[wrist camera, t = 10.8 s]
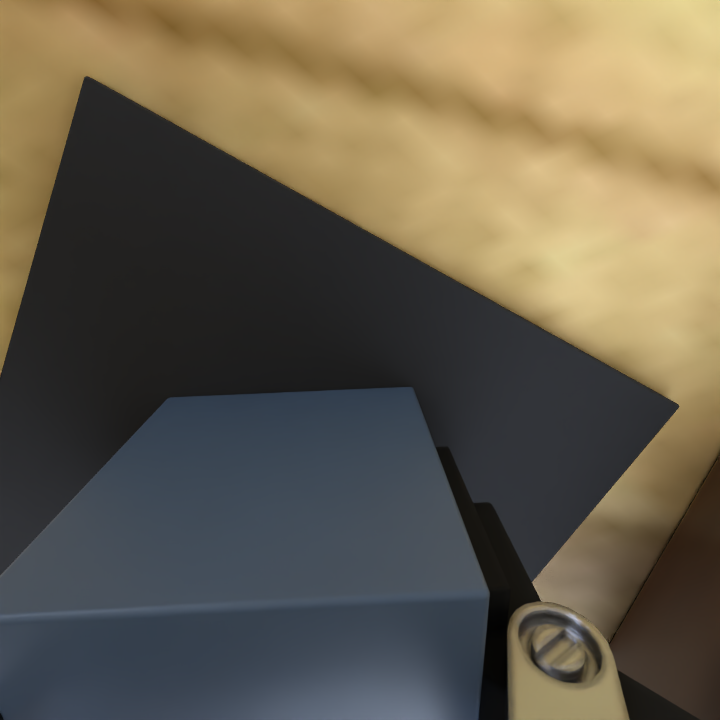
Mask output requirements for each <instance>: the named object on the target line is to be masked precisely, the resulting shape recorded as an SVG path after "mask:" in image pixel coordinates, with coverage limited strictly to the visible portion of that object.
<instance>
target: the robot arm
mask: <svg viewBox="0 0 720 720" xmlns="http://www.w3.org/2000/svg"><path fill="white" fill-rule="evenodd" d="M435 448H436V450H437V453H438V456H439V458H440V461H441V464H442V466H443V469H444V472H445V474H446V477H447V480H448V482H449V485H450V488H451V490H452V493H453V496H454V498H455V501H456V504H457V506H458V509H459V512H460V514H461V517H462V520H463V523H464V525H465V528H466V531H467V533H468V536H469V539H470V541H471V544H472V547H473V549H474V552H475V555H476V557H477V560H478V563H479V565H480V568H481V571H482V573H483V576H484V579H485V581H486V584H487V587H488V589H489V592H490V597H489V608H488V619H487V630H486V641H485V653H484V664H483V675H482V686H481V697H480V708H479V719H478V720H700V719H698V718H697V717H695V716H693V715H692V714H690V713H688V712H687V711H685V710H683V709H682V708H680V707H678V706H677V705H675V704H673V703H672V702H670V701H668V700H667V699H665V698H663V697H662V696H660V695H659V694H657V693H655V692H654V691H652V690H650V689H649V688H647V687H645V686H644V685H642V684H640V683H639V682H637V681H635V680H634V679H632V678H630V677H629V676H627V675H625V674H624V673H622V672H620V671H619V670H617V668H616V664H615V660H614V656H613V654H612V652H611V649H610V647H609V644H608V642H607V641H606V639H605V638H604V637H603V635H602V634H601V633H600V631H599V630H598V629H597V628H596V627H595V626H594V625H593V624H592V623H591V622H589V621H588V620H587V619H586V618H585V617H584V616H582V615H580V614H578V613H577V612H575V611H573V610H571V609H570V608H568V607H565V606H562V605H558V604H555V603H551V602H541V600H540V598H539V596H538V594H537V592H536V590H535V588H534V586H533V584H532V582H531V580H530V578H529V576H528V574H527V572H526V570H525V568H524V566H523V564H522V562H521V560H520V558H519V556H518V554H517V552H516V550H515V548H514V546H513V544H512V542H511V540H510V538H509V536H508V534H507V532H506V530H505V528H504V526H503V524H502V522H501V520H500V518H499V516H498V514H497V512H496V510H495V509H494V507H493V505H492V504H491V503H489V502H482V503H473V501H472V499H471V497H470V495H469V492H468V490H467V488H466V485H465V483H464V481H463V479H462V476H461V474H460V472H459V469H458V467H457V465H456V463H455V460H454V458H453V456H452V453H451V451H450V449H449V447H448V446H443V447H435ZM0 720H4V719H3V717H2V715H1V713H0Z"/></svg>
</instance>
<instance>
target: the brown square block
mask: <svg viewBox="0 0 720 720" xmlns="http://www.w3.org/2000/svg"><path fill="white" fill-rule="evenodd" d="M609 647H610V649H611V652H612V654H613V656H614V660H615V664H616V668H617V670H619V671H620V672H622V673H624V674H625V675H627V676H629V677H630V678H632V679H634V680H635V681H637V682H639V683H640V684H642V685H644V686H645V687H647V688H649V689H650V690H652V691H654V692H655V693H657V694H659V695H660V696H662V697H663V698H665V699H667V700H668V701H670V702H672V703H673V704H675V705H677V706H678V707H680V708H682V709H683V710H685V711H687V712H688V713H690V714H692V715H693V716H695V717H697V718H698V719H700V720H720V455H719V457H718V459H717V460H716V462H715V464H714V466H713V467H712V469H711V471H710V472H709V474H708V476H707V478H706V479H705V481H704V483H703V485H702V486H701V488H700V490H699V491H698V493H697V495H696V497H695V498H694V500H693V502H692V503H691V505H690V507H689V509H688V510H687V512H686V514H685V515H684V517H683V519H682V521H681V522H680V524H679V526H678V528H677V529H676V531H675V533H674V534H673V536H672V538H671V540H670V541H669V543H668V545H667V546H666V548H665V550H664V552H663V553H662V555H661V557H660V558H659V560H658V562H657V564H656V565H655V567H654V569H653V571H652V572H651V574H650V576H649V577H648V579H647V581H646V583H645V584H644V586H643V588H642V589H641V591H640V593H639V595H638V596H637V598H636V600H635V601H634V603H633V605H632V607H631V608H630V610H629V612H628V614H627V615H626V617H625V619H624V620H623V622H622V624H621V626H620V627H619V629H618V631H617V632H616V634H615V636H614V638H613V639H612V641H611V643H610V644H609Z"/></svg>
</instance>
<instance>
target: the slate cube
mask: <svg viewBox="0 0 720 720" xmlns="http://www.w3.org/2000/svg"><path fill="white" fill-rule="evenodd" d="M489 597H490V592H489V589H488V587H487V584H486V581H485V579H484V576H483V573H482V571H481V568H480V565H479V563H478V560H477V557H476V555H475V552H474V549H473V547H472V544H471V541H470V539H469V536H468V533H467V531H466V528H465V525H464V523H463V520H462V517H461V514H460V512H459V509H458V506H457V504H456V501H455V498H454V496H453V493H452V490H451V488H450V485H449V482H448V480H447V477H446V474H445V472H444V469H443V466H442V464H441V461H440V458H439V456H438V453H437V450H436V448H435V445H434V442H433V440H432V437H431V434H430V432H429V429H428V426H427V424H426V421H425V418H424V416H423V413H422V410H421V408H420V405H419V402H418V400H417V397H416V394H415V392H414V389H413V388H412V387H395V388H372V389H349V390H327V391H304V392H282V393H259V394H237V395H214V396H192V397H170V398H168V399H167V400H166V401H165V402H164V403H163V404H162V405H161V406H160V407H159V408H158V409H157V410H156V411H155V412H154V413H153V415H152V416H151V417H150V418H149V419H148V420H147V421H146V422H145V423H144V424H143V425H142V426H141V427H140V428H139V429H138V430H137V431H136V432H135V434H134V435H133V436H132V437H131V438H130V439H129V440H128V441H127V442H126V443H125V444H124V445H123V446H122V447H121V448H120V449H119V450H118V452H117V453H116V454H115V455H114V456H113V457H112V458H111V459H110V460H109V461H108V462H107V463H106V464H105V465H104V466H103V467H102V468H101V470H100V471H99V472H98V473H97V474H96V475H95V476H94V477H93V478H92V479H91V480H90V481H89V482H88V483H87V484H86V485H85V486H84V488H83V489H82V490H81V491H80V492H79V493H78V494H77V495H76V496H75V497H74V498H73V499H72V500H71V501H70V502H69V503H68V504H67V506H66V507H65V508H64V509H63V510H62V511H61V512H60V513H59V514H58V515H57V516H56V517H55V518H54V519H53V520H52V521H51V522H50V524H49V525H48V526H47V527H46V528H45V529H44V530H43V531H42V532H41V533H40V534H39V535H38V536H37V537H36V538H35V539H34V540H33V541H32V543H31V544H30V545H29V546H28V547H27V548H26V549H25V550H24V551H23V552H22V553H21V554H20V555H19V556H18V557H17V558H16V559H15V561H14V562H13V563H12V564H11V565H10V566H9V567H8V568H7V569H6V570H5V571H4V572H3V573H2V574H1V575H0V713H1V715H2V717H3V719H4V720H478V719H479V708H480V697H481V686H482V675H483V664H484V653H485V641H486V630H487V619H488V608H489Z"/></svg>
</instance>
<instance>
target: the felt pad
mask: <svg viewBox="0 0 720 720" xmlns="http://www.w3.org/2000/svg"><path fill="white" fill-rule="evenodd" d="M395 387H412V388H413V389H414V392H415V394H416V397H417V400H418V402H419V405H420V408H421V410H422V413H423V416H424V418H425V421H426V424H427V426H428V429H429V432H430V434H431V437H432V440H433V442H434V445H435V447H443V446H448V447H449V449H450V451H451V453H452V456H453V458H454V460H455V463H456V465H457V467H458V469H459V472H460V474H461V476H462V479H463V481H464V483H465V485H466V488H467V490H468V492H469V495H470V497H471V499H472V501H473V503H482V502H489V503H491V504H492V505H493V507H494V509H495V510H496V512H497V514H498V516H499V518H500V520H501V522H502V524H503V526H504V528H505V530H506V532H507V534H508V536H509V538H510V540H511V542H512V544H513V546H514V548H515V550H516V552H517V554H518V556H519V558H520V560H521V562H522V564H523V566H524V568H525V570H526V572H527V574H528V576H529V578H530V580H531V582H532V581H533V580H534V579H535V578H536V577H537V575H538V574H539V573H540V572H541V571H542V569H543V568H544V567H545V566H546V565H547V564H548V562H549V561H550V560H551V559H552V558H553V556H554V555H555V554H556V553H557V552H558V550H559V549H560V548H561V547H562V546H563V545H564V543H565V542H566V541H567V540H568V539H569V537H570V536H571V535H572V534H573V533H574V531H575V530H576V529H577V528H578V527H579V526H580V524H581V523H582V522H583V521H584V520H585V518H586V517H587V516H588V515H589V514H590V512H591V511H592V510H593V509H594V508H595V507H596V505H597V504H598V503H599V502H600V501H601V499H602V498H603V497H604V496H605V495H606V493H607V492H608V491H609V490H610V489H611V488H612V486H613V485H614V484H615V483H616V482H617V480H618V479H619V478H620V477H621V476H622V474H623V473H624V472H625V471H626V470H627V469H628V467H629V466H630V465H631V464H632V463H633V461H634V460H635V459H636V458H637V457H638V456H639V454H640V453H641V452H642V451H643V450H644V448H645V447H646V446H647V445H648V444H649V442H650V441H651V440H652V439H653V438H654V437H655V435H656V434H657V433H658V432H659V431H660V429H661V428H662V427H663V426H664V425H665V423H666V422H667V421H668V420H669V419H670V418H671V416H672V415H673V414H674V413H675V412H676V410H677V409H678V408H679V405H678V404H677V403H675V402H673V401H671V400H670V399H668V398H666V397H664V396H663V395H661V394H659V393H657V392H655V391H654V390H652V389H650V388H648V387H646V386H645V385H643V384H641V383H639V382H637V381H636V380H634V379H632V378H630V377H628V376H627V375H625V374H623V373H621V372H619V371H618V370H616V369H614V368H612V367H610V366H609V365H607V364H605V363H603V362H601V361H600V360H598V359H596V358H594V357H592V356H591V355H589V354H587V353H585V352H583V351H582V350H580V349H578V348H576V347H574V346H573V345H571V344H569V343H567V342H565V341H564V340H562V339H560V338H558V337H556V336H555V335H553V334H551V333H549V332H547V331H546V330H544V329H542V328H540V327H538V326H537V325H535V324H533V323H531V322H529V321H528V320H526V319H524V318H522V317H520V316H519V315H517V314H515V313H513V312H511V311H510V310H508V309H506V308H504V307H502V306H501V305H499V304H497V303H495V302H493V301H492V300H490V299H488V298H486V297H484V296H483V295H481V294H479V293H477V292H475V291H474V290H472V289H470V288H468V287H466V286H465V285H463V284H461V283H459V282H457V281H456V280H454V279H452V278H450V277H448V276H447V275H445V274H443V273H441V272H439V271H438V270H436V269H434V268H432V267H430V266H429V265H427V264H425V263H423V262H421V261H420V260H418V259H416V258H414V257H412V256H411V255H409V254H407V253H405V252H403V251H402V250H400V249H398V248H396V247H395V246H393V245H391V244H389V243H387V242H386V241H384V240H382V239H380V238H378V237H377V236H375V235H373V234H371V233H369V232H368V231H366V230H364V229H362V228H360V227H359V226H357V225H355V224H353V223H351V222H350V221H348V220H346V219H344V218H342V217H341V216H339V215H337V214H335V213H333V212H332V211H330V210H328V209H326V208H324V207H323V206H321V205H319V204H317V203H315V202H314V201H312V200H310V199H308V198H306V197H305V196H303V195H301V194H299V193H297V192H296V191H294V190H292V189H290V188H288V187H287V186H285V185H283V184H281V183H279V182H278V181H276V180H274V179H272V178H270V177H269V176H267V175H265V174H263V173H261V172H260V171H258V170H256V169H254V168H252V167H251V166H249V165H247V164H245V163H243V162H242V161H240V160H238V159H236V158H234V157H233V156H231V155H229V154H227V153H225V152H224V151H222V150H220V149H218V148H216V147H215V146H213V145H211V144H209V143H207V142H206V141H204V140H202V139H200V138H198V137H197V136H195V135H193V134H191V133H189V132H188V131H186V130H184V129H182V128H180V127H179V126H177V125H175V124H173V123H171V122H170V121H168V120H166V119H164V118H162V117H161V116H159V115H157V114H155V113H153V112H152V111H150V110H148V109H146V108H144V107H143V106H141V105H139V104H137V103H135V102H134V101H132V100H130V99H128V98H126V97H125V96H123V95H121V94H119V93H118V92H116V91H114V90H112V89H110V88H109V87H107V86H105V85H103V84H101V83H100V82H98V81H96V80H94V79H92V78H90V77H87V76H85V78H84V81H83V84H82V88H81V91H80V95H79V99H78V102H77V106H76V109H75V113H74V116H73V120H72V123H71V127H70V131H69V134H68V138H67V141H66V145H65V148H64V152H63V155H62V159H61V163H60V166H59V170H58V173H57V177H56V180H55V184H54V187H53V191H52V195H51V198H50V202H49V205H48V209H47V212H46V216H45V220H44V223H43V227H42V230H41V234H40V237H39V241H38V244H37V248H36V252H35V255H34V259H33V262H32V266H31V269H30V273H29V276H28V280H27V284H26V287H25V291H24V294H23V298H22V301H21V305H20V309H19V312H18V316H17V319H16V323H15V326H14V330H13V333H12V337H11V341H10V344H9V348H8V351H7V355H6V358H5V362H4V365H3V369H2V373H1V376H0V575H1V574H2V573H3V572H4V571H5V570H6V569H7V568H8V567H9V566H10V565H11V564H12V563H13V562H14V561H15V559H16V558H17V557H18V556H19V555H20V554H21V553H22V552H23V551H24V550H25V549H26V548H27V547H28V546H29V545H30V544H31V543H32V541H33V540H34V539H35V538H36V537H37V536H38V535H39V534H40V533H41V532H42V531H43V530H44V529H45V528H46V527H47V526H48V525H49V524H50V522H51V521H52V520H53V519H54V518H55V517H56V516H57V515H58V514H59V513H60V512H61V511H62V510H63V509H64V508H65V507H66V506H67V504H68V503H69V502H70V501H71V500H72V499H73V498H74V497H75V496H76V495H77V494H78V493H79V492H80V491H81V490H82V489H83V488H84V486H85V485H86V484H87V483H88V482H89V481H90V480H91V479H92V478H93V477H94V476H95V475H96V474H97V473H98V472H99V471H100V470H101V468H102V467H103V466H104V465H105V464H106V463H107V462H108V461H109V460H110V459H111V458H112V457H113V456H114V455H115V454H116V453H117V452H118V450H119V449H120V448H121V447H122V446H123V445H124V444H125V443H126V442H127V441H128V440H129V439H130V438H131V437H132V436H133V435H134V434H135V432H136V431H137V430H138V429H139V428H140V427H141V426H142V425H143V424H144V423H145V422H146V421H147V420H148V419H149V418H150V417H151V416H152V415H153V413H154V412H155V411H156V410H157V409H158V408H159V407H160V406H161V405H162V404H163V403H164V402H165V401H166V400H167V399H168V398H170V397H192V396H214V395H237V394H259V393H282V392H304V391H327V390H349V389H372V388H395Z"/></svg>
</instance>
